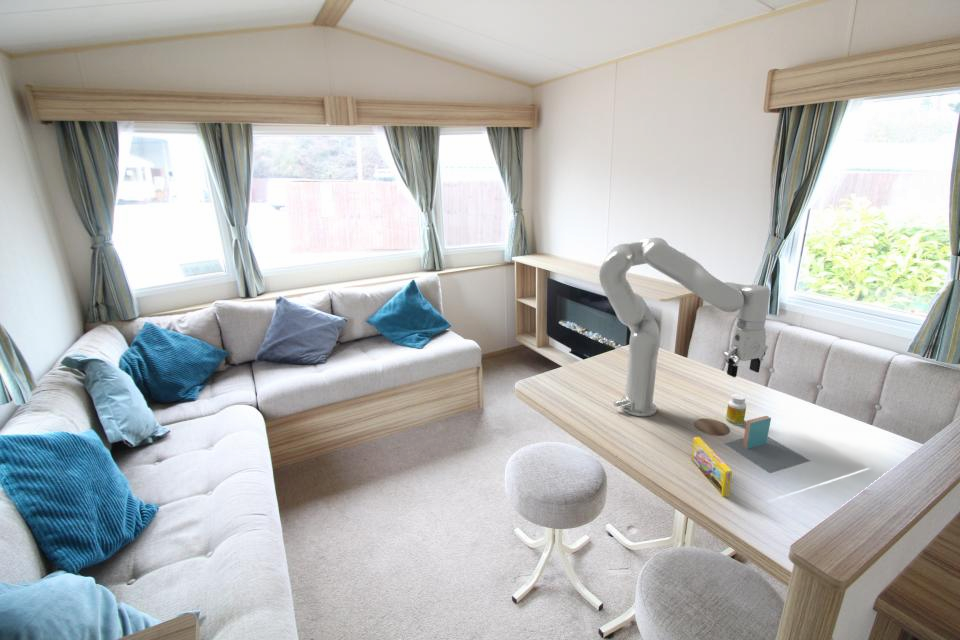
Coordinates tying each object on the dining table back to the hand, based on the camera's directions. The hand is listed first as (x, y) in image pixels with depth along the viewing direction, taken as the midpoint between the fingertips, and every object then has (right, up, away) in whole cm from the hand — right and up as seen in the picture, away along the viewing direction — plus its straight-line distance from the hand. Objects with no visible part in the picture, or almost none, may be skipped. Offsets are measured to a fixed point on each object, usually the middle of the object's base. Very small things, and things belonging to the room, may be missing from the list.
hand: (742, 373), depth 151 cm
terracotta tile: (-1, -21, -8) cm, 23 cm away
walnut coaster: (-9, -19, +2) cm, 21 cm away
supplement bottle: (0, -18, +6) cm, 19 cm away
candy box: (-22, -27, -22) cm, 41 cm away
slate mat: (0, -23, -12) cm, 26 cm away
